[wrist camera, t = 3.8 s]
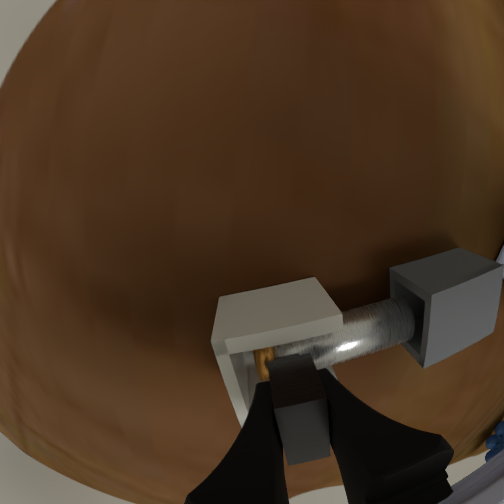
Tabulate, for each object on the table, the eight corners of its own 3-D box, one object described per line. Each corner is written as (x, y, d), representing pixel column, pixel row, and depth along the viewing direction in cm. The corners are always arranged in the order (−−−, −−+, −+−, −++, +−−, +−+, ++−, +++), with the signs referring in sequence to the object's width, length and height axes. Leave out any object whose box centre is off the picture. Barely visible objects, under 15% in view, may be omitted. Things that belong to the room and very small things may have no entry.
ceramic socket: (314, 276, 16) (342, 313, 11) (324, 357, 18) (346, 406, 13) (219, 296, 16) (210, 341, 11) (241, 375, 18) (242, 428, 13)
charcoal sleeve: (458, 247, 16) (503, 264, 11) (455, 305, 17) (493, 331, 13) (389, 267, 16) (431, 294, 12) (389, 331, 17) (423, 368, 13)
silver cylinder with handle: (392, 279, 15) (472, 339, 8) (391, 334, 16) (453, 405, 9) (247, 314, 16) (252, 412, 8) (261, 368, 16) (271, 468, 9)
